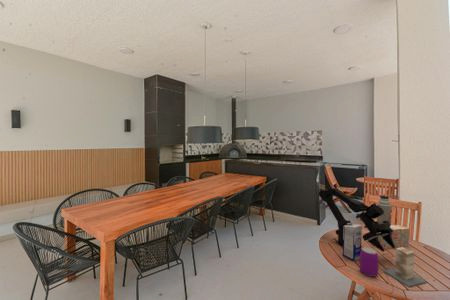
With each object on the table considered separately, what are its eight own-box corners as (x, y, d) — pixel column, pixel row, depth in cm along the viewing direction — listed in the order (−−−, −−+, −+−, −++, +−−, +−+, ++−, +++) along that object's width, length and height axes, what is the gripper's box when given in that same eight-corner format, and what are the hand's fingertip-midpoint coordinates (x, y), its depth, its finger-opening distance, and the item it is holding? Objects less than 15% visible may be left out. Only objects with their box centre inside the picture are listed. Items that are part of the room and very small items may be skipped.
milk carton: (353, 261, 118) (354, 227, 117) (342, 255, 124) (343, 222, 123) (361, 258, 121) (362, 224, 120) (349, 252, 127) (350, 220, 126)
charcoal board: (408, 287, 97) (408, 285, 97) (383, 271, 108) (383, 270, 108) (426, 282, 100) (426, 281, 100) (400, 268, 112) (400, 266, 111)
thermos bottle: (392, 235, 151) (393, 197, 149) (386, 237, 147) (388, 198, 146) (380, 230, 158) (381, 194, 156) (374, 233, 154) (375, 195, 153)
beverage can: (356, 270, 110) (357, 248, 109) (365, 266, 113) (366, 245, 112) (371, 279, 103) (372, 255, 102) (381, 275, 106) (381, 252, 105)
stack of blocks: (380, 249, 131) (380, 230, 130) (371, 244, 137) (372, 226, 136) (408, 246, 134) (409, 228, 134) (399, 242, 140) (399, 224, 140)
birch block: (395, 273, 106) (396, 248, 105) (401, 271, 107) (402, 247, 107) (406, 279, 101) (407, 253, 100) (413, 277, 103) (414, 252, 102)
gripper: (368, 218, 113) (390, 247, 103) (390, 213, 120) (412, 241, 110) (354, 226, 121) (373, 254, 111) (375, 222, 128) (395, 248, 118)
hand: (389, 249), depth 112 cm, fingers open, 9 cm apart
